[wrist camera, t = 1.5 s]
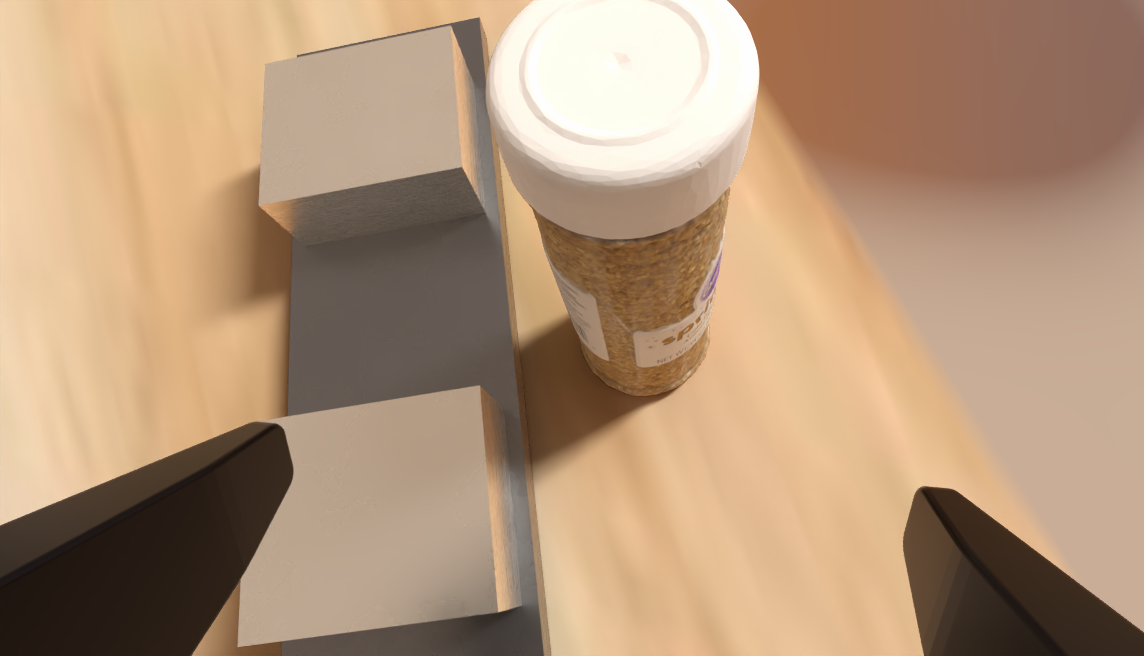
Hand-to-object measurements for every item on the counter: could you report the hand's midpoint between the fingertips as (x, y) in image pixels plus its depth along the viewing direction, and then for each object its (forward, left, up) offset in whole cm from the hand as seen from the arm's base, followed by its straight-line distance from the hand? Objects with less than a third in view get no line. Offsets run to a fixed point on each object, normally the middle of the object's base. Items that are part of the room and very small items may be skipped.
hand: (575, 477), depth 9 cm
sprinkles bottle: (+5, +4, -13) cm, 14 cm away
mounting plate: (-1, +10, -12) cm, 16 cm away
